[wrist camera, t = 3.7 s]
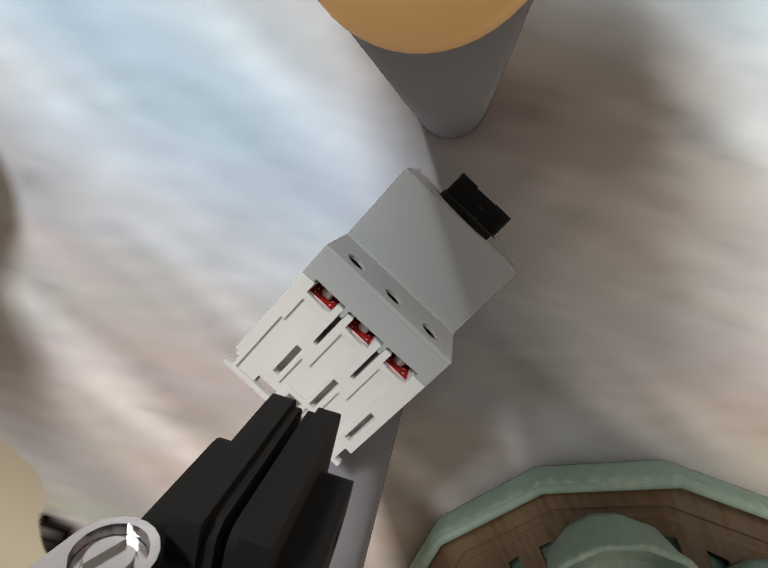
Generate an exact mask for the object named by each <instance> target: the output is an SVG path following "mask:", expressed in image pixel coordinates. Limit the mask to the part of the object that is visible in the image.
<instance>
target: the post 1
mask: <svg viewBox="0 0 768 568" xmlns="http://www.w3.org/2000/svg"><path fill="white" fill-rule="evenodd" d="M402 409H403V407H402V408H401V409H400V410H399V411H398V412H397V413H396V414H394V415H393V416H392V417H391V418H390V419H389V420H388V421H387V422H386V423H384V424H383V425H382V426H381V427H380V428H379V429H378V430H377V431H376V432H374V433H373V434H372V435H371V436H370V437H369V438H368V439H367V440H365V441H364V442H363V443H362V444H361V445H360V446H359V447H358V448H357V449H355V450H354V451H353V452H352V453H350V452H349V451H348V450H347V449H344V450H343V451H342V452H340V453H339V454H338V456H339V457H340V458H341V459H342V460H341V462H340V464H339V465H338V466H336V465H335V464H334V463H333V462H332V461H330V465H329V469H328V473H331V474H334V475H337V476H340V477H343V478H346V479H349V480H352V481H354V484H353V488H352V492H351V496H350V500H349V504H348V507H347V511H346V515H345V518H344V522H343V525H342V529H341V532H340V535H339V538H338V542H337V545H336V548H335V551H334V554H333V557H332V560H331V563H330V566H329V568H363V566H364V562H365V558H366V554H367V550H368V546H369V542H370V538H371V534H372V530H373V526H374V522H375V518H376V514H377V510H378V506H379V502H380V498H381V494H382V490H383V486H384V482H385V478H386V474H387V469H388V465H389V461H390V457H391V453H392V449H393V445H394V441H395V437H396V433H397V429H398V425H399V421H400V417H401V413H402Z"/></svg>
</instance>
